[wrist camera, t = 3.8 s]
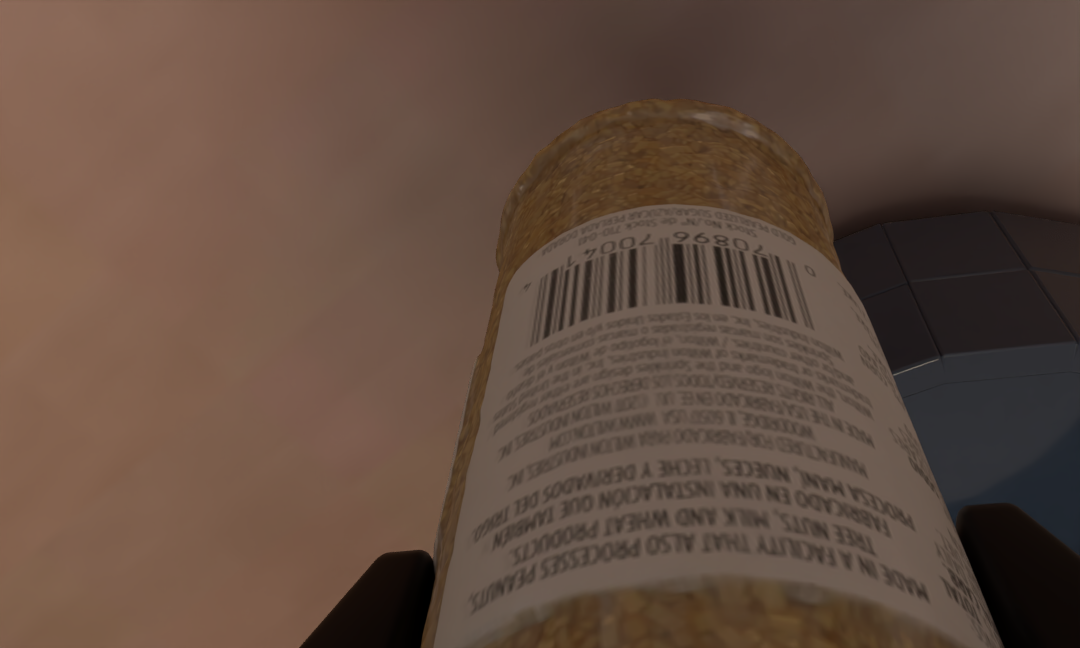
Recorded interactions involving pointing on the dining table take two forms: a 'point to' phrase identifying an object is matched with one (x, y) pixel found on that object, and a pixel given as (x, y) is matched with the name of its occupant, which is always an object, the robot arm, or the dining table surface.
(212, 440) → the dining table surface
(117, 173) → the dining table surface
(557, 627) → the sprinkles bottle
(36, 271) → the dining table surface
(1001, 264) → the bowl
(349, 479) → the dining table surface
